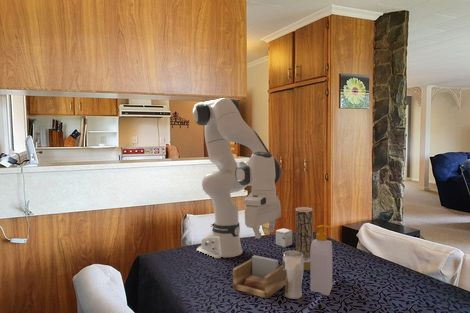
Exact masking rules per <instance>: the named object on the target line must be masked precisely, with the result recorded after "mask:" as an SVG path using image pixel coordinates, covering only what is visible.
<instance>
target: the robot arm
mask: <svg viewBox="0 0 470 313" xmlns="http://www.w3.org/2000/svg"><path fill="white" fill-rule="evenodd" d="M192 116H193V119H194V121H195V123H196V125H198V126H204V140H205V145H206V150H207V156H208V159H209V161H210V163H212V164H214V165H215V166H216V168H217V169H218V170H216V171H212V172H209V173H208V174H206V175H204V176H203V179H202V181H201V187H202V190H203V191H204V193H205V194H206V195H207V196H208V197H209V198H210V199H211V202H212V204H213V208H214V223H212V224H210V228H211V227H212V229H211V230H210V231H209V232H208V233H207V234H205V235H204V237H202V239H201V243H200V245H199V246H198V247H197V248H196V252H197V251H199V252H198V253H200V252H202V253H204V254H203V255H205V254H207V255H206V256H208V255H209V256H208V257H210V256H212V257H211V258H213V257H214V259H221V257H223V258H234V257H238V256H240V255H242V254H243V252H244V251H243V248H242V245H241V240H240V230H241V229H240V222H239V206H238V205H237V203H235V202H234V201H233V200H232V197H231V194H232V193H238V192H241V191H243V190H244V189H245V188H247V186H248V187H249V186H251V192H249V194H248V195H247V196H246V197H245V198H244V199H243V205H245V207H244V223H245V224H244V225H245V226H246V227H247V228H249V229H252V231H253V232H254V238H255V239H260V238H262V232H260V229H261V228H260V227H261V226H264V225H265V224H267V223H269V226H268V227H267V232H269V233H273V232H275V225H276V222H277V221H276V220H277V219H280V218H281V217H282V207H281V206H282V205H281V200H280V199H279V196H278V194H277V187H276V184H277V183H278V181H279V180H280V178H281V176H282V167H281V165H280V163H279V162H278V160H276V158H274V155H273V154H271V152H270V151H269V149H268V148H267V146H266V144H265V143H264V142H263V140H262V139H261V137H260V136H259V134H258V133H257V132H256V131H255V130H254V129H253V128H252V127H250V126H249V125H248V124H247V123H246V122H245V120H244V119H243V117H242V115H241V104H240V103H239V101H238V100H237V99H234V98H228V97H222V98H219V99H214V100H213V99H212V100H207V101H204V102H203V101H201V102H198V103H195V104H194V106H193V109H192ZM230 142H231V143H235V144H240V145H242V146H245V147H247V148H248V149H249V150H251V152H252V154H251V156H250V157H249V158H248V159H245V160H243V161H240V162H239V163H237V161H236V159H235V158H234V155H233V152H232V147H231V143H230ZM202 253H201V254H202Z"/></svg>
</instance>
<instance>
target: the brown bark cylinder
mask: <svg viewBox="0 0 470 313" xmlns="http://www.w3.org/2000/svg"><path fill="white" fill-rule="evenodd" d="M313 214H314V210H313V208H312V207H310V206H309V207H307V206H299V207H296V208H295V251H299V252H301V253H303V261H304V271H310V249H311V243H312V240H313V239H314V220H313V218H314V215H313Z"/></svg>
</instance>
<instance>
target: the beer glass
mask: <svg viewBox="0 0 470 313" xmlns="http://www.w3.org/2000/svg"><path fill="white" fill-rule="evenodd" d="M282 265H283V274H284V279H285V285H284V287H285V290H284V296H285V297H286V298H288V299H292V300H296V299H301V298H302V297H303V291H302V284H303V280H304V279H303V278H304V271H305V270H304V261H303V253H301V252H299V251H296V250H287V251H284V252H283V256H282Z"/></svg>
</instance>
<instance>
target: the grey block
mask: <svg viewBox="0 0 470 313" xmlns="http://www.w3.org/2000/svg"><path fill="white" fill-rule="evenodd" d="M251 259H252V276H257V277H262V278H264V277H265V276H266V275H268V274H269V273H271V272H272V271H274V270H275V269H277V268H278V267H279V259H275V258H274V259H273V258H270V257H265V256H260V255H255V254H254V255H252V256H251Z"/></svg>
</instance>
